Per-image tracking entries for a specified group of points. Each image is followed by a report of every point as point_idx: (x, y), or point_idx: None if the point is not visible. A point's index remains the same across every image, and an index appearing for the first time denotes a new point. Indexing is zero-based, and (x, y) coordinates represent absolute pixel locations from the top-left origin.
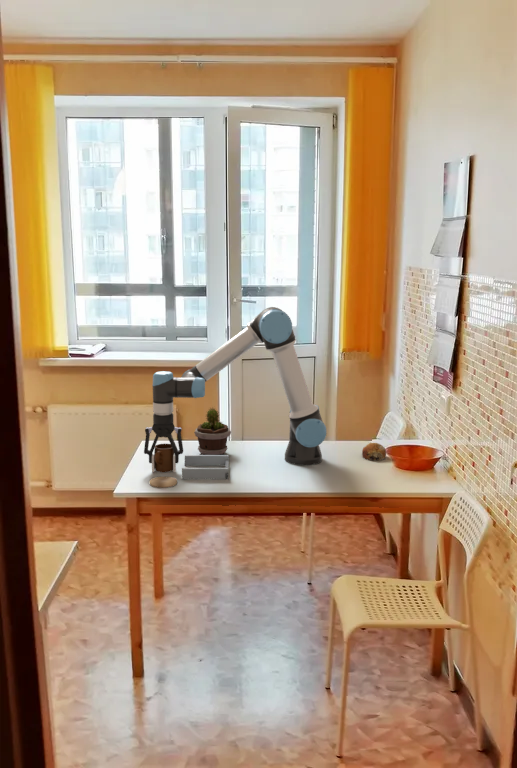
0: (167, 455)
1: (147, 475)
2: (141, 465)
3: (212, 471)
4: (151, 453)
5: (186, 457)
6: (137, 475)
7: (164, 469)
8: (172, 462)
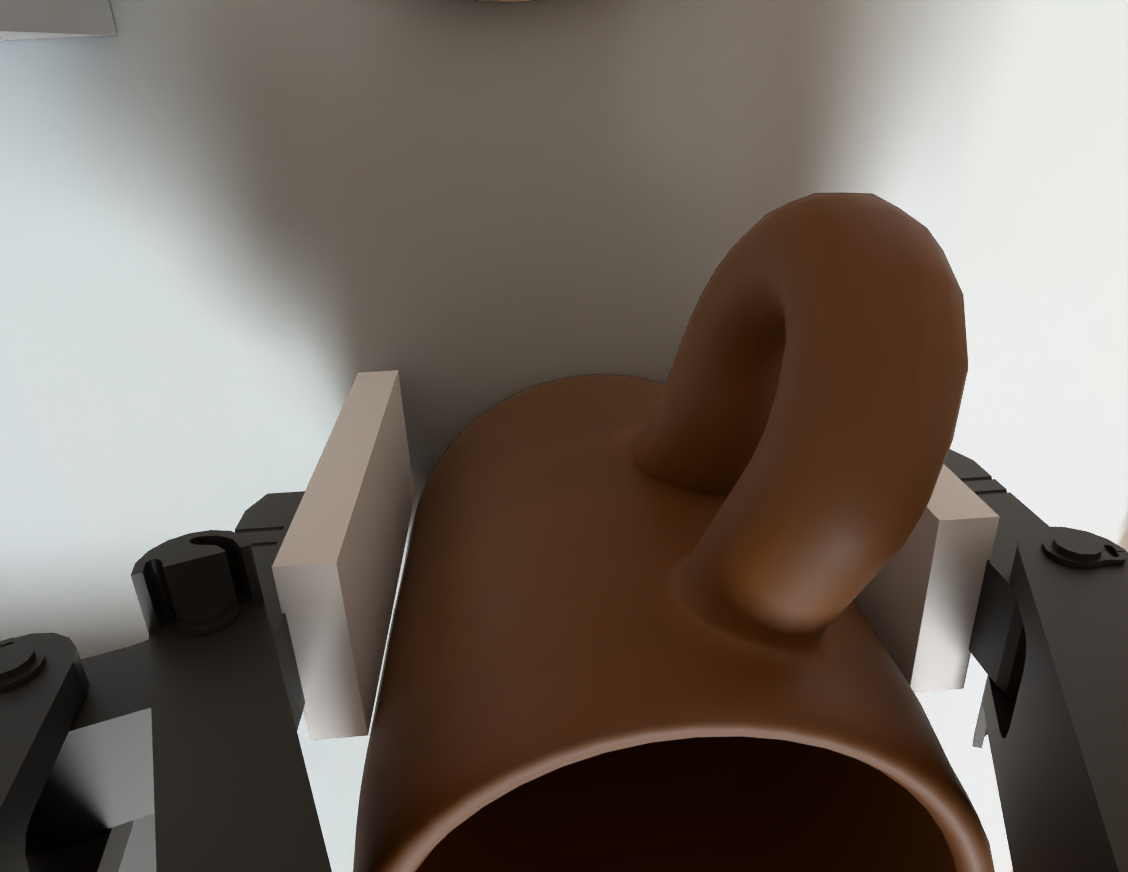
0: (521, 583)
1: (899, 192)
2: (985, 679)
3: None
4: (1049, 564)
5: None
6: (1096, 182)
7: (578, 386)
8: (415, 547)
